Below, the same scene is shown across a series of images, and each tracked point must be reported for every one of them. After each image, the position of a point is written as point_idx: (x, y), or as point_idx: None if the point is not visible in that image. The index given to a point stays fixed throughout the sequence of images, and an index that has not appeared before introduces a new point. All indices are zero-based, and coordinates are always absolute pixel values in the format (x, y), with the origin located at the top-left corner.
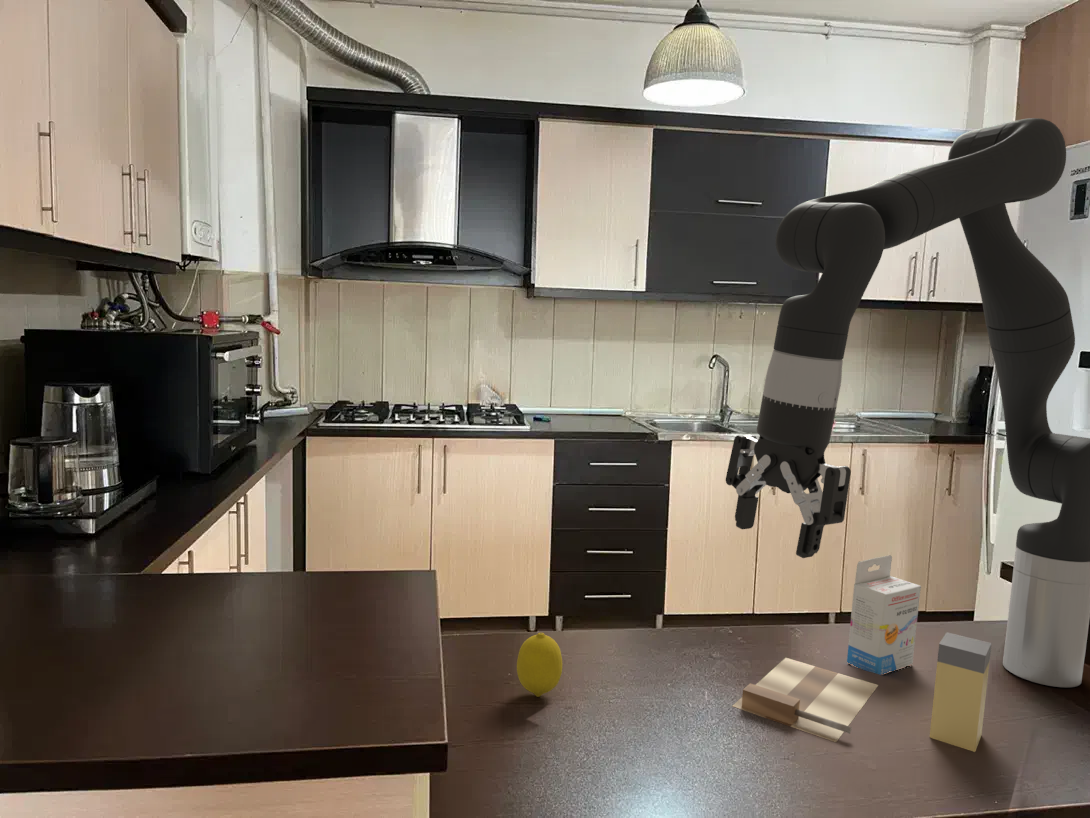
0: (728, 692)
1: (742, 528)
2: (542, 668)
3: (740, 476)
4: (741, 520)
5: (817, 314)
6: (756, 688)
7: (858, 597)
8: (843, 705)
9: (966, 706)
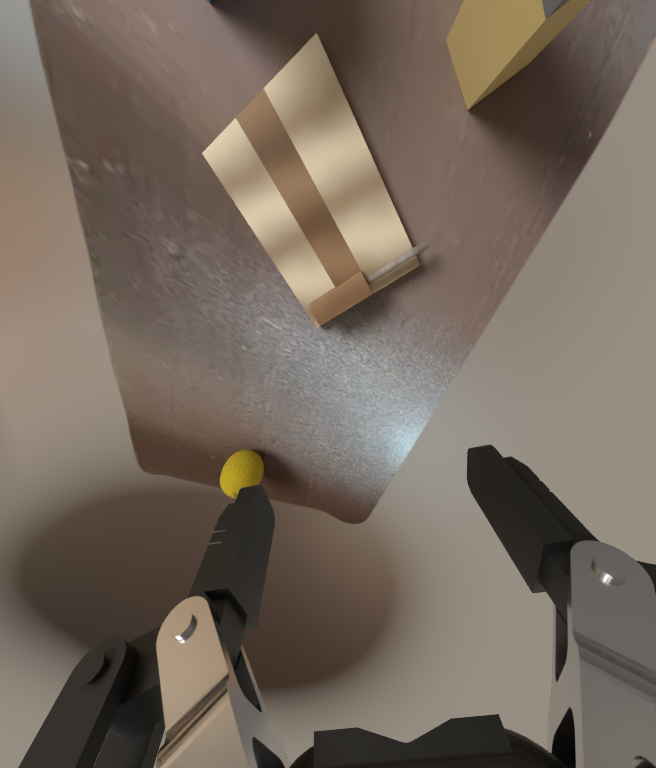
0: (271, 296)
1: (272, 512)
2: (259, 481)
3: (127, 721)
4: (271, 541)
5: None
6: (321, 308)
7: None
8: (355, 177)
9: (564, 21)
